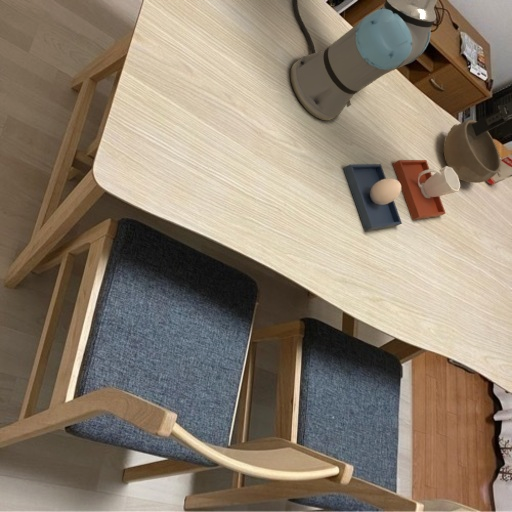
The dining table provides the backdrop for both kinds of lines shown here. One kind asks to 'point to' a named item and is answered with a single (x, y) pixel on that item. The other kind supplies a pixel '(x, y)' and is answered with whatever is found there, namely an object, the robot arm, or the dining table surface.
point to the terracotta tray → (417, 189)
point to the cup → (439, 182)
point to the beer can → (503, 170)
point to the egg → (385, 191)
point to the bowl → (471, 153)
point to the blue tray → (360, 185)
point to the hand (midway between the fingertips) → (488, 131)
